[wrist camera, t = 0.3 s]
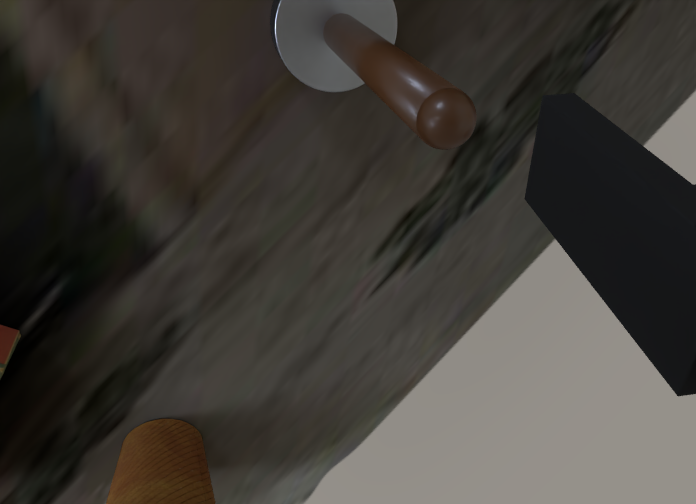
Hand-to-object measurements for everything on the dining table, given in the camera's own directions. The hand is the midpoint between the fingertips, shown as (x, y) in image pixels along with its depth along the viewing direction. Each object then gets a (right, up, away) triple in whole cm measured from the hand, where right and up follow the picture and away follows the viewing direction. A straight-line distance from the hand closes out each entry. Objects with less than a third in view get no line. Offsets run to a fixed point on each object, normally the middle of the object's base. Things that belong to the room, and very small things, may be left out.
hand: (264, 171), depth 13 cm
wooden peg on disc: (+1, +12, +21) cm, 24 cm away
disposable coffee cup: (-13, -18, +34) cm, 41 cm away
